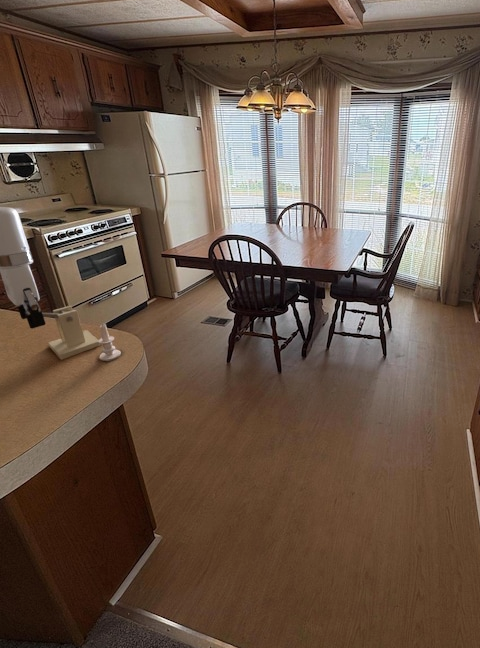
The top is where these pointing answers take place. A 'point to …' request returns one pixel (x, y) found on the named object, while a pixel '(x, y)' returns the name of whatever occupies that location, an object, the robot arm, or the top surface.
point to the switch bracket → (71, 335)
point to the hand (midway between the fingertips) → (33, 321)
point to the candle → (107, 345)
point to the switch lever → (51, 314)
